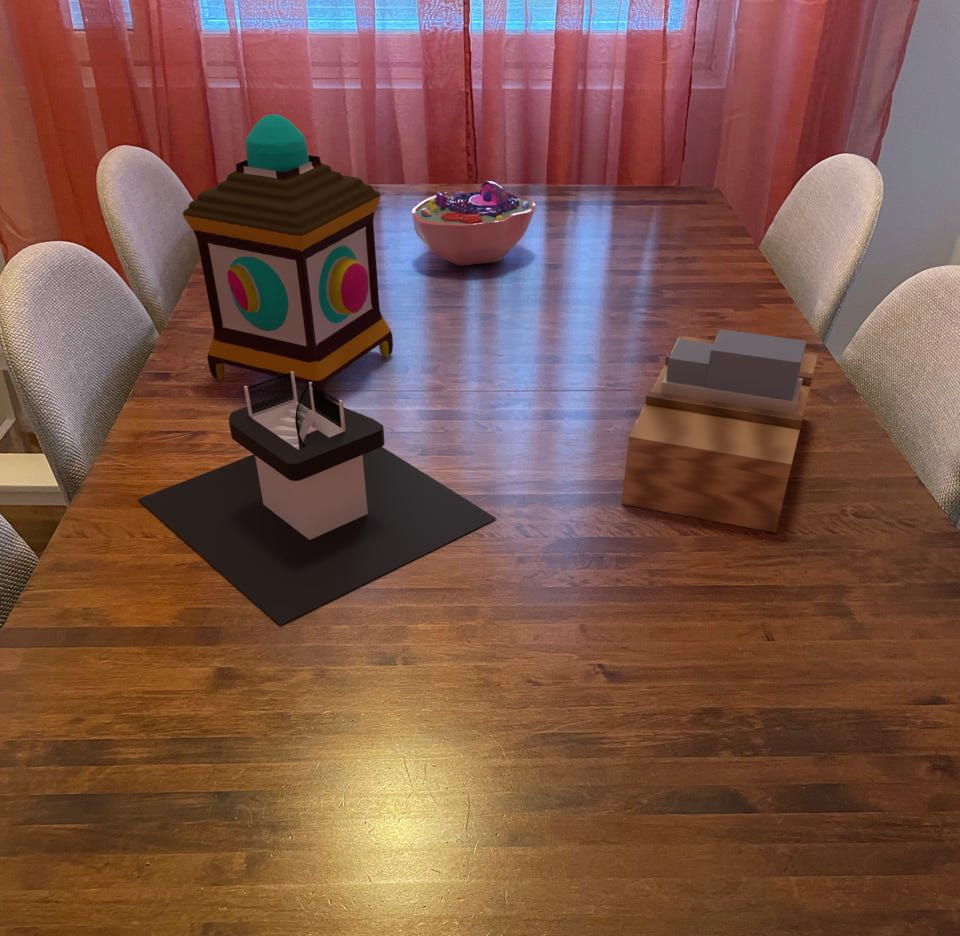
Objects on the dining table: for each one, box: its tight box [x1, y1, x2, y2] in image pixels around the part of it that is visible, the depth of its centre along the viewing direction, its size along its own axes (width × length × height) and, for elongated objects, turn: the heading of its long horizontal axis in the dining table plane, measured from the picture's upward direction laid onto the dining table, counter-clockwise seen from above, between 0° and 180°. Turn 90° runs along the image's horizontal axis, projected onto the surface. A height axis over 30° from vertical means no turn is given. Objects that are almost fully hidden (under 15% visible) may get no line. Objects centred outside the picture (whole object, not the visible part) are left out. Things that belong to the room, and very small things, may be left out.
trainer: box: [661, 328, 807, 414], centre depth 103 cm, size 14×6×6 cm, turn 70°
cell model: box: [411, 180, 537, 266], centre depth 155 cm, size 17×20×11 cm
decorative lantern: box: [182, 113, 394, 399], centre depth 119 cm, size 20×20×30 cm
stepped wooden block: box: [621, 335, 818, 534], centre depth 108 cm, size 16×26×9 cm, turn 160°
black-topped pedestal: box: [137, 371, 497, 626], centre depth 98 cm, size 28×26×13 cm
